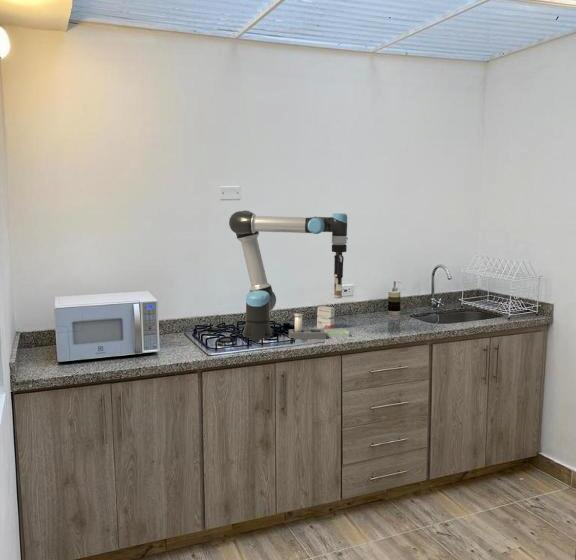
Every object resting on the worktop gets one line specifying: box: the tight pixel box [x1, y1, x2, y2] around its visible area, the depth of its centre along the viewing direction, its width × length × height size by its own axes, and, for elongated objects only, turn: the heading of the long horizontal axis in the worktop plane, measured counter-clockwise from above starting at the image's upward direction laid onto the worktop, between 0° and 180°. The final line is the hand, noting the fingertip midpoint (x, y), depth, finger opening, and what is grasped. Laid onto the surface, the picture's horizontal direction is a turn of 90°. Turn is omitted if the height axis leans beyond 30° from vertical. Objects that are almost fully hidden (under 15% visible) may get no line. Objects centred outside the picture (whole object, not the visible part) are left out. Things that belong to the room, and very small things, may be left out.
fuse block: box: [288, 328, 327, 340], centre depth 304 cm, size 18×9×4 cm, turn 95°
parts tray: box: [324, 329, 351, 338], centre depth 311 cm, size 12×9×2 cm
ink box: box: [316, 305, 336, 329], centre depth 328 cm, size 9×5×12 cm, turn 58°
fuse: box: [294, 312, 304, 332], centre depth 303 cm, size 4×4×12 cm
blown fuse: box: [333, 273, 343, 299], centre depth 307 cm, size 4×4×12 cm
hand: (338, 289), depth 307 cm, fingers closed on blown fuse, 4 cm apart
